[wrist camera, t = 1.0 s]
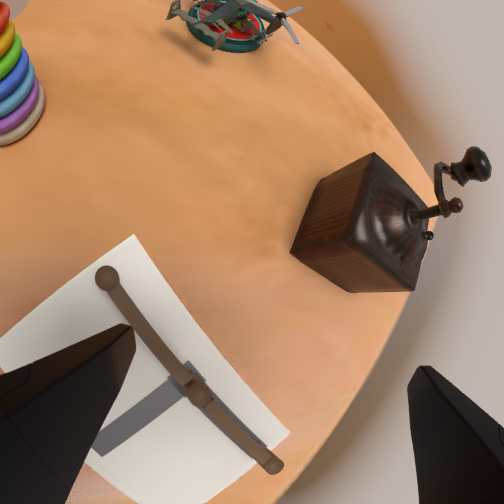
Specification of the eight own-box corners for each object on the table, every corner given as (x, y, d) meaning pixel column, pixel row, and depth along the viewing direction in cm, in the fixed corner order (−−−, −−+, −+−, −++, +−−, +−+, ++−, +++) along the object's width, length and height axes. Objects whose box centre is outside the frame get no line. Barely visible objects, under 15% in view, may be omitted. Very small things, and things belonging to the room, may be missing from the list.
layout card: (171, 522, 21) (172, 524, 21) (-10, 348, 17) (-12, 349, 17) (288, 431, 28) (291, 433, 28) (133, 234, 25) (133, 233, 24)
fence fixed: (251, 455, 26) (274, 478, 22) (172, 376, 24) (184, 396, 20) (263, 444, 27) (288, 466, 22) (187, 365, 25) (202, 381, 20)
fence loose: (171, 376, 23) (179, 390, 20) (94, 276, 22) (89, 275, 18) (186, 364, 24) (197, 375, 21) (111, 264, 23) (109, 260, 19)
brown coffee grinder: (356, 298, 34) (495, 294, 18) (286, 253, 31) (443, 219, 15) (385, 197, 39) (495, 161, 23) (329, 147, 35) (443, 83, 19)
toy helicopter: (298, 54, 36) (331, 21, 29) (241, 103, 31) (276, 59, 23) (200, -15, 31) (219, -53, 23) (123, 18, 26) (134, -31, 18)
